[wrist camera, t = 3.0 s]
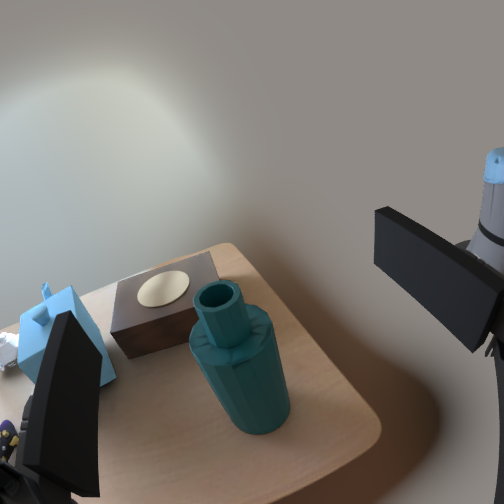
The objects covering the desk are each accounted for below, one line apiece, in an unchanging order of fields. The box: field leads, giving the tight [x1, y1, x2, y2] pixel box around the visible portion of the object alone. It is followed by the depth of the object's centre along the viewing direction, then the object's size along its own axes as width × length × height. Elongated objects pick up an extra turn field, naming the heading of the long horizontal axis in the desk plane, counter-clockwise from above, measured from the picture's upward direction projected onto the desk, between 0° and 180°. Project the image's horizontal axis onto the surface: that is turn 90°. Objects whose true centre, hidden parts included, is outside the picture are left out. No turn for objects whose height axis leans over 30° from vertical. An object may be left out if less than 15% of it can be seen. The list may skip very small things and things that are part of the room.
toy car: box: [0, 332, 19, 371], centre depth 41 cm, size 6×12×7 cm, turn 126°
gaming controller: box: [0, 420, 19, 464], centre depth 24 cm, size 10×5×6 cm
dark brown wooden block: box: [110, 251, 220, 359], centre depth 47 cm, size 18×14×6 cm
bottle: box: [189, 280, 290, 434], centre depth 26 cm, size 7×7×18 cm
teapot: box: [18, 282, 117, 387], centre depth 37 cm, size 22×11×14 cm, turn 37°
